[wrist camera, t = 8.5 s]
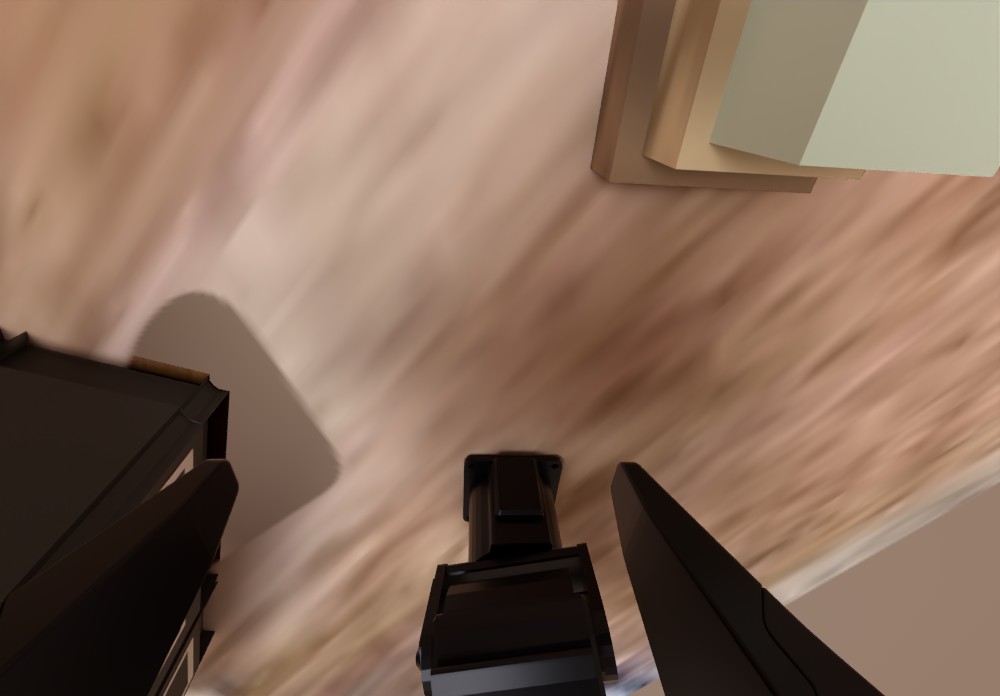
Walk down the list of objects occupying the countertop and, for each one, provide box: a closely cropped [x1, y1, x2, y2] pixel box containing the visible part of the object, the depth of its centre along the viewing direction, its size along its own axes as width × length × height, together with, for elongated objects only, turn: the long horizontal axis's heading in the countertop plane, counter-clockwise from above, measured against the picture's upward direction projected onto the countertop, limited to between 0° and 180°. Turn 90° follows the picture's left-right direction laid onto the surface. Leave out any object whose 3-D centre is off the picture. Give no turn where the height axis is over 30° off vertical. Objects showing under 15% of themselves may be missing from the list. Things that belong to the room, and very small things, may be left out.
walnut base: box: [591, 0, 817, 193], centre depth 15 cm, size 8×8×3 cm
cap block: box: [709, 0, 1000, 177], centre depth 9 cm, size 4×4×4 cm
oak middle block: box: [642, 0, 866, 180], centre depth 12 cm, size 6×6×3 cm
